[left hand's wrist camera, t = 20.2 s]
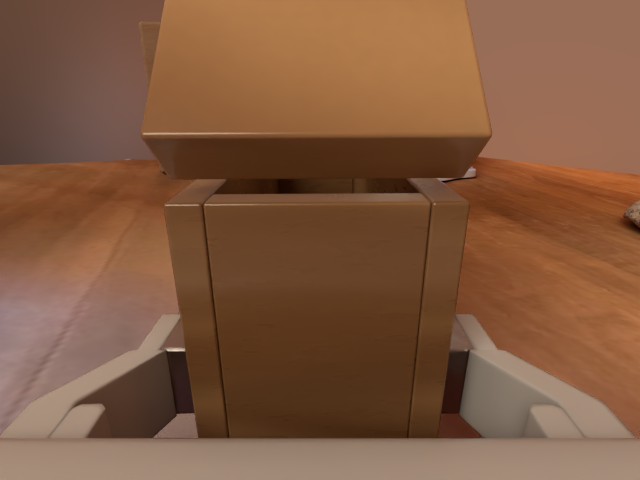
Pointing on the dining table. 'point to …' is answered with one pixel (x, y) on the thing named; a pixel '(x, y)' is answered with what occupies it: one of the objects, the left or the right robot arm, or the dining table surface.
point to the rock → (633, 213)
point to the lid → (315, 90)
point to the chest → (317, 304)
